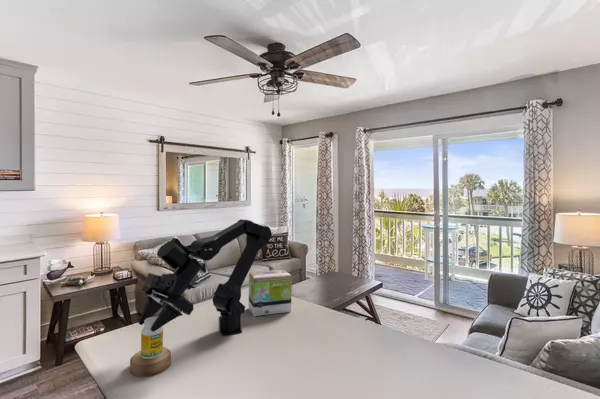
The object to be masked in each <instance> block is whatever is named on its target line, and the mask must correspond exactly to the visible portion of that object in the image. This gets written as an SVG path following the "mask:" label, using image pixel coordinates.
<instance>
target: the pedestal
mask: <svg viewBox="0 0 600 399" xmlns="http://www.w3.org/2000/svg"><path fill="white" fill-rule="evenodd" d="M171 364H172V352H171V350H170V349H169V348H167V347H165V346H163V351H162V354H161V355H160V356H158V357H156V358H153V359H144V358H142V356H141V350H139V351H137V352H136V353H134V354H133V355H132V356H131V357H130V360H129V371H130V372H129V373H130V374H131V375H132V376H134V377H137V378H146V377H147V378H148V377H152V376H157V375H158V374H161V373H163V372H165V371H166V370H167V369H169V368H170V366H171Z"/></svg>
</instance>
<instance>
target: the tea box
mask: <svg viewBox="0 0 600 399" xmlns="http://www.w3.org/2000/svg"><path fill="white" fill-rule="evenodd" d="M292 280H293V277H292V274H291V273H289V272H288V271H286V270H285V269H279V270H278V269H276V270H264V271H263V270H262V271H250V272H248V309H249V311H250V312H251V314H252V315H253V317H258V316H259V317H260V316H265V315H274V314H275V315H276V314H281V313H282V314H283V313H291V312H292V286H293V284H292Z"/></svg>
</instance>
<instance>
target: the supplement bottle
mask: <svg viewBox="0 0 600 399" xmlns="http://www.w3.org/2000/svg"><path fill="white" fill-rule="evenodd" d="M157 317H158V316H152V317H149V318H147V319H145V320H144V324H143V325H144V326H143V327H142V329H141V331H140V332H141V333H140V335H141V336H140V338H141V340H140V351H141V356H142V358H144V359H153V358H156V357H158V356H160V355H161V354H162V351H163V347H164V345H163V344H164V328H163V326H162V327H160V328H159V329H157V330H156V331H154V332H153V331H151V330H150V329H151V327H152V325H153V324H154V322H155V320H156V319H157Z"/></svg>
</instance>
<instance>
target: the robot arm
mask: <svg viewBox="0 0 600 399" xmlns="http://www.w3.org/2000/svg"><path fill="white" fill-rule="evenodd" d="M242 235H246V238H245V239H246V244H245V247H244V249H243V251H242V253H241V255H240V257H239V258H238V261H237V262H236V265H235V266H234V268H233V270H232V272H231V274H230V276H229V278H228V280H227V281H226V282H225V283H219V284H218V285H217V287H216V289H215V291H214V292H213V296H212V303H213V304H212V305H213V306H214V307H215V310H216V312H219V313H220V315H219V316H218V330H219V332H220V333H221V336H229V335H234V334H235V335H236V334H240V333H242V332H243V330H242V326H241V325H242V324H241V321H242V320H241V316H242V315H243V314H244V313H245V310H246V306H245V305H244V304H243V303H242V302H241V298H242V286H243V284H244V282H245V280H246V278H247V275H249V271H250V270H251V268H252V265H253V264H254V261H255V260H256V258H257V255H258V253H259V252H260V250H262V249H263V248H265V247H266V246H267V244H268V243H270V240H271V238H272V237H273V236H272V235H273V234H272V230H271V228H270V227H269V226H266V225H261V224H259V223H256V222H254V221H252V220H250V219H242V218H241V219H239V220H237V221H236V222H235V223H233V224H231V225H229V226H228V227H226V228H224V229H223V230H221V231H219V232H217V233H214V234H213V235H211V236H205V237H202V238H198V239H196V240H193V241H192V242H191V243H190V244H188V245H186V246H185V245H184V244H183V243H182V242H181V240H180V239H178V237H177V238H176V237H172V239H170V240H168V241H166V242H165V243H163V245H161V246H160V247H159V248H158V250H157V252H156V255H157V256H156V257H158V258H160V259H161V260H162V262H164V263H165V264H167V265H168V266H169V267H170V268H171V269H175V270H174V272H173V273H170V272H169V273H168V274H166V273H163V274H161V275H160V274H159V275H158V274H154V273H151V272H148V274H147V276H146V279H145V280H144V283H143V284H144V286H143V287H142V289H140V291H141V293H143V296H144V298H145V299H144V300H145V304H144V308H143V310H142V313H141V315H140V318H139V321H138V324H139V325H140V326H143V325H144V320H145V319H147V318H149V317H154V316H155V314H157V313H158V312H159V311H160V310H161V309H162V310H161V311H160V312H159V314H158V315H157V316H156V317H157V319H156V320H155V322H154V324H153V325H152V327H151V329H150V330H151V331H153V332H154V331H156V330H157V329H159V328H160V327H163V326H165V325H166V324H168V323H170V322H171V321H173V320H174V319H176V318H178V317H181V316H183V314H184V315H187V316H191V313H193V311H194V304H193V303H192V302H191V301H190V300H188V299H187V298H185V297H184V296H183V295H184V293H185V291H187V290H189V291H190V290H191V289H192V285H191V283H192V282H193V281H194V279H195V278H196V277H197V275H198V273H199V272H201V273H204V274H206V273H207V268H206V263H204V262H200V261H199V260H202V261H206V262H207V261H211V260H212V259H213V258H215V257H216V256H217V255H218V254H219V253H220V251H221V249H222V248H223V247H224V246H226V245H228V244H230V243H231V242H233V241H234V240H236V239H237V238H240V237H241V236H242ZM190 256H191V257H190Z"/></svg>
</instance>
